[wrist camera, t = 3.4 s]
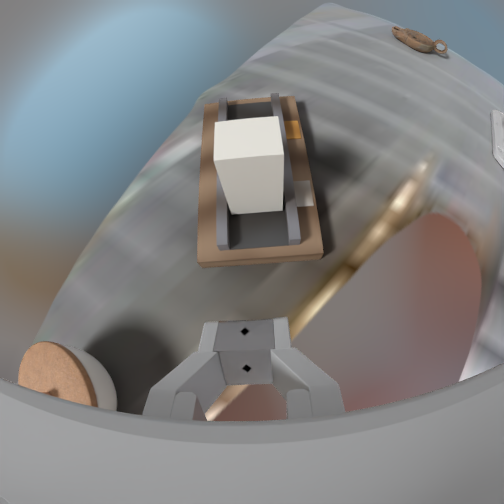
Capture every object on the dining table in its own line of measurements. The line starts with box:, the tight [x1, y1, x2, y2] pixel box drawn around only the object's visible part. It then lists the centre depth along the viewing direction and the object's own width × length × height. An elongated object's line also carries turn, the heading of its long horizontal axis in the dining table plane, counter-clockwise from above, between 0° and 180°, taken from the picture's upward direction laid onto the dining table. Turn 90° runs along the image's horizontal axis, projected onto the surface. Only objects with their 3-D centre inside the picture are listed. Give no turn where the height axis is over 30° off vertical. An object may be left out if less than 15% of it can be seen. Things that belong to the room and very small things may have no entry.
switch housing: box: [197, 93, 324, 268], centre depth 30 cm, size 22×12×4 cm, turn 3°
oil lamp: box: [392, 26, 447, 54], centre depth 39 cm, size 13×8×5 cm, turn 59°
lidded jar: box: [18, 341, 117, 411], centre depth 21 cm, size 11×11×9 cm
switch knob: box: [214, 116, 284, 215], centre depth 24 cm, size 4×5×9 cm
